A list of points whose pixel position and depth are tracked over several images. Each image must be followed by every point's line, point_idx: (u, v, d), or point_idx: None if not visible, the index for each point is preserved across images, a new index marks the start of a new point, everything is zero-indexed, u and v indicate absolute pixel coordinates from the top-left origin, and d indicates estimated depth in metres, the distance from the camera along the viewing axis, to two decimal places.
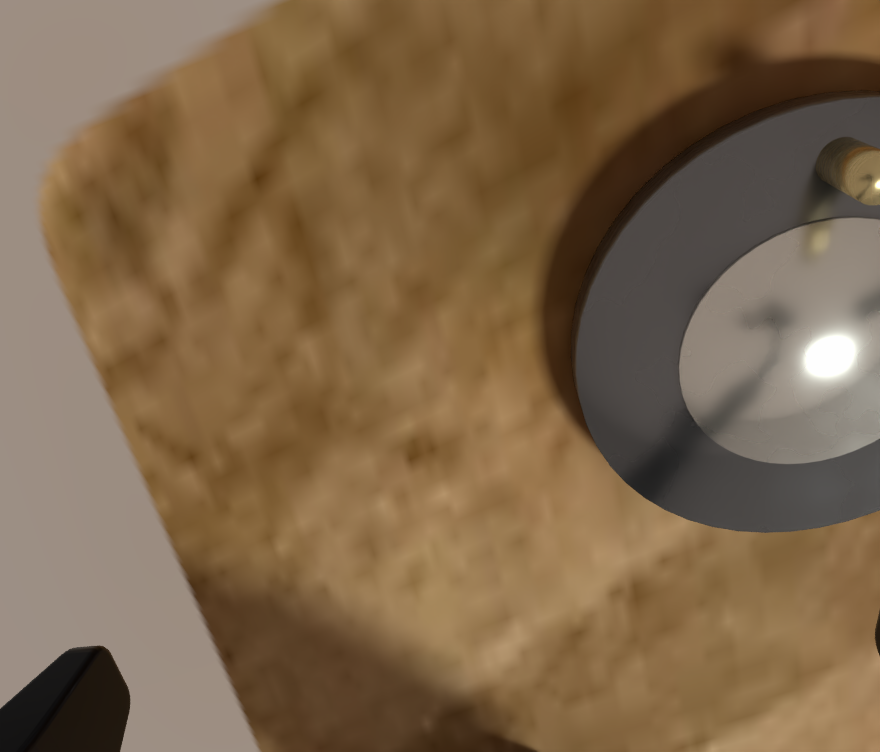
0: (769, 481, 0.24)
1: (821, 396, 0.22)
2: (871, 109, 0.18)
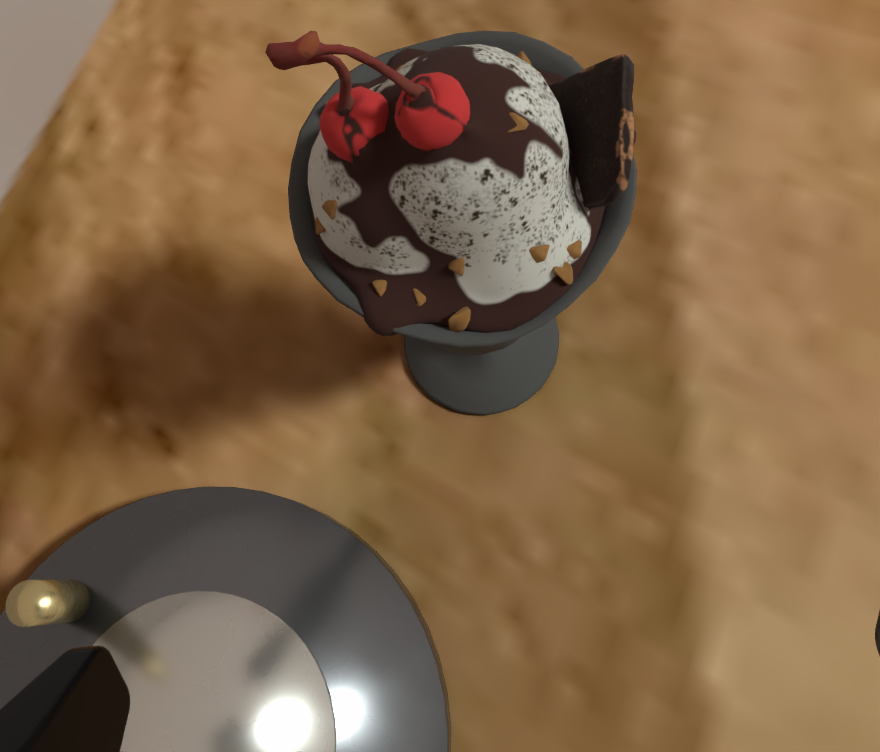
0: None
1: None
2: (61, 556, 0.22)
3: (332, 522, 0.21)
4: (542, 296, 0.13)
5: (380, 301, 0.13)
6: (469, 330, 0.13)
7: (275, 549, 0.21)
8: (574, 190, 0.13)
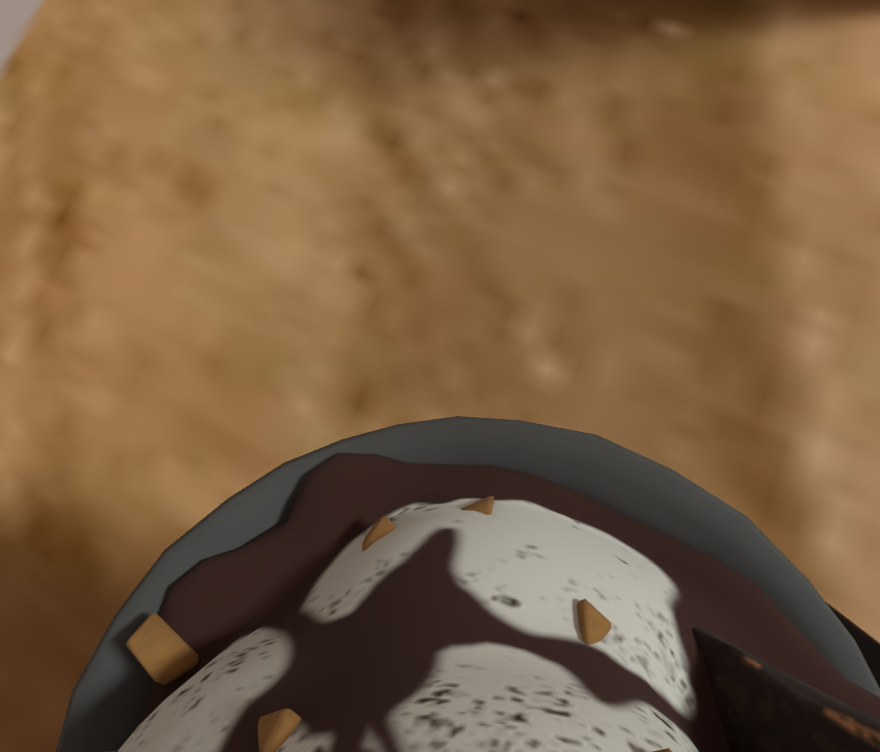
0: None
1: None
2: None
3: None
4: None
5: None
6: None
7: None
8: None
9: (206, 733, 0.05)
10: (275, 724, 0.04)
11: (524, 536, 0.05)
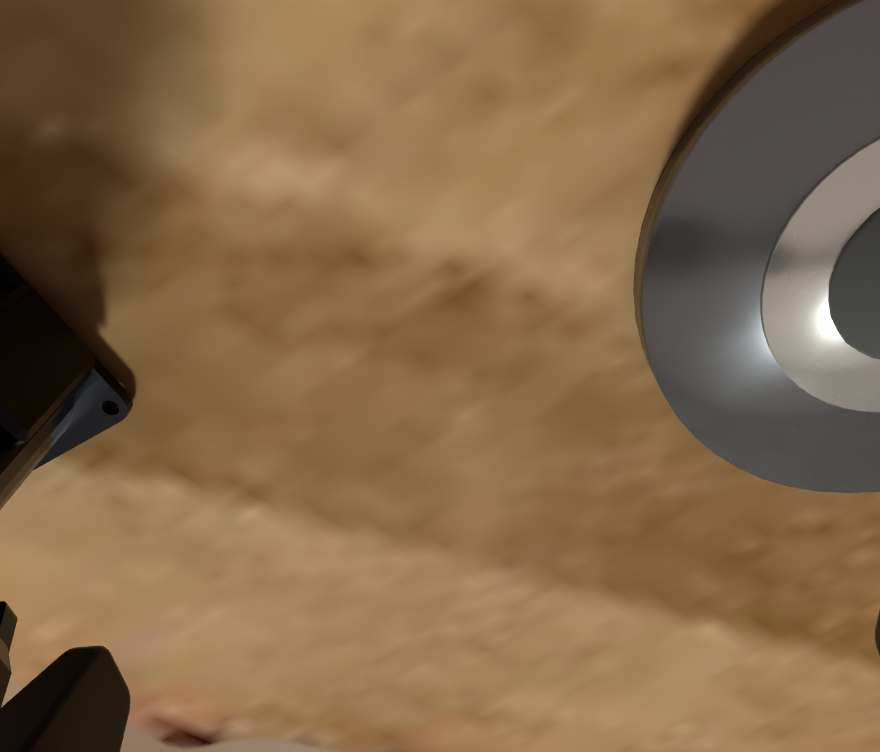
0: (728, 330, 0.20)
1: None
2: None
3: None
4: None
5: None
6: None
7: None
8: None
9: None
10: None
11: None
